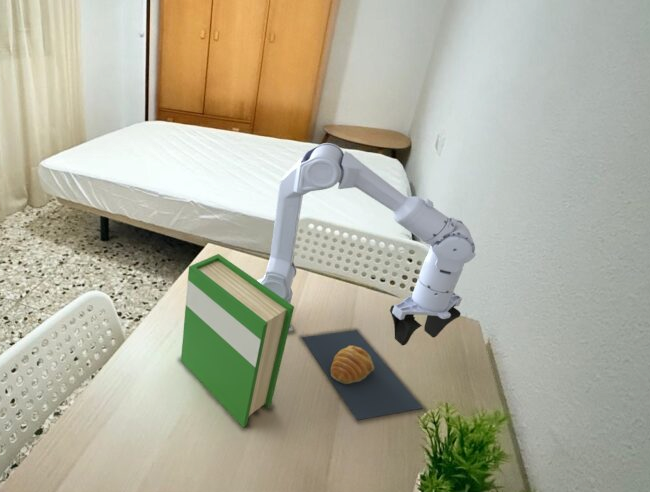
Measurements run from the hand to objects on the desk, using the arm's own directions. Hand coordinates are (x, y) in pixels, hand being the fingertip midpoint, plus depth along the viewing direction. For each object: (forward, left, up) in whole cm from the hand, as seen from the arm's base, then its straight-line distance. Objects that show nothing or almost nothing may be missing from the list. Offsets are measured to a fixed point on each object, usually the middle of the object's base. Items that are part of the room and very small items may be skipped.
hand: (414, 337), depth 80 cm
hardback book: (-3, -38, -9) cm, 40 cm away
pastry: (-1, -11, -9) cm, 14 cm away
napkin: (-1, -10, -9) cm, 13 cm away
